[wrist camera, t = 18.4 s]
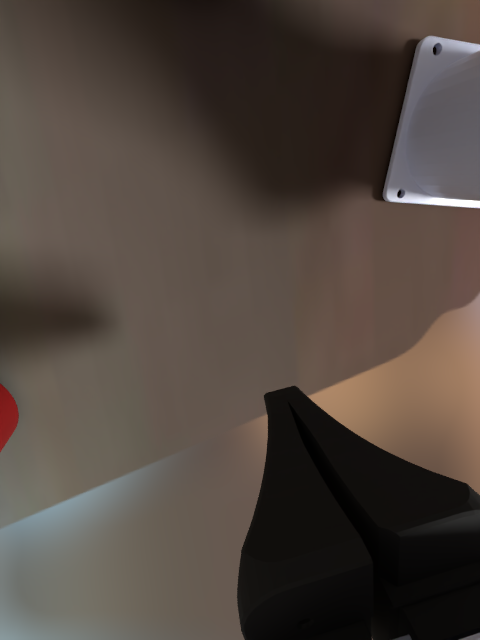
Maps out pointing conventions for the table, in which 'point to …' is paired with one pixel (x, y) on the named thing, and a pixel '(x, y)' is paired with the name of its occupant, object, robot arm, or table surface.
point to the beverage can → (7, 416)
